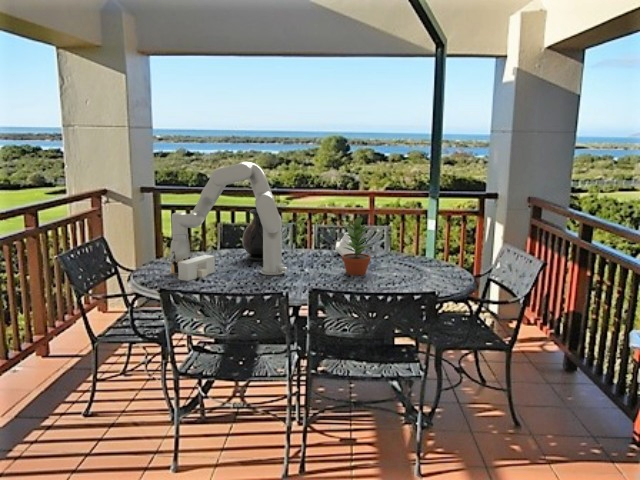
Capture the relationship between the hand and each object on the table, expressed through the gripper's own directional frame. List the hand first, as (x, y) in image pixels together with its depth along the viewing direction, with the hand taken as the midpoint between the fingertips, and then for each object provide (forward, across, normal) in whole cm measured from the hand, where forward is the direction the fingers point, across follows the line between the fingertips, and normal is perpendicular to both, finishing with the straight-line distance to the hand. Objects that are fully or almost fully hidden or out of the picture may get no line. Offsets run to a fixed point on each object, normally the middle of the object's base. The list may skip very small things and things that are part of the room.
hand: (181, 271), depth 275 cm
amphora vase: (+1, -48, +16) cm, 51 cm away
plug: (+1, 0, +5) cm, 5 cm away
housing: (+1, 0, +10) cm, 11 cm away
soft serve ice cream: (+1, -85, +51) cm, 99 cm away
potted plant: (+1, -47, +76) cm, 89 cm away
